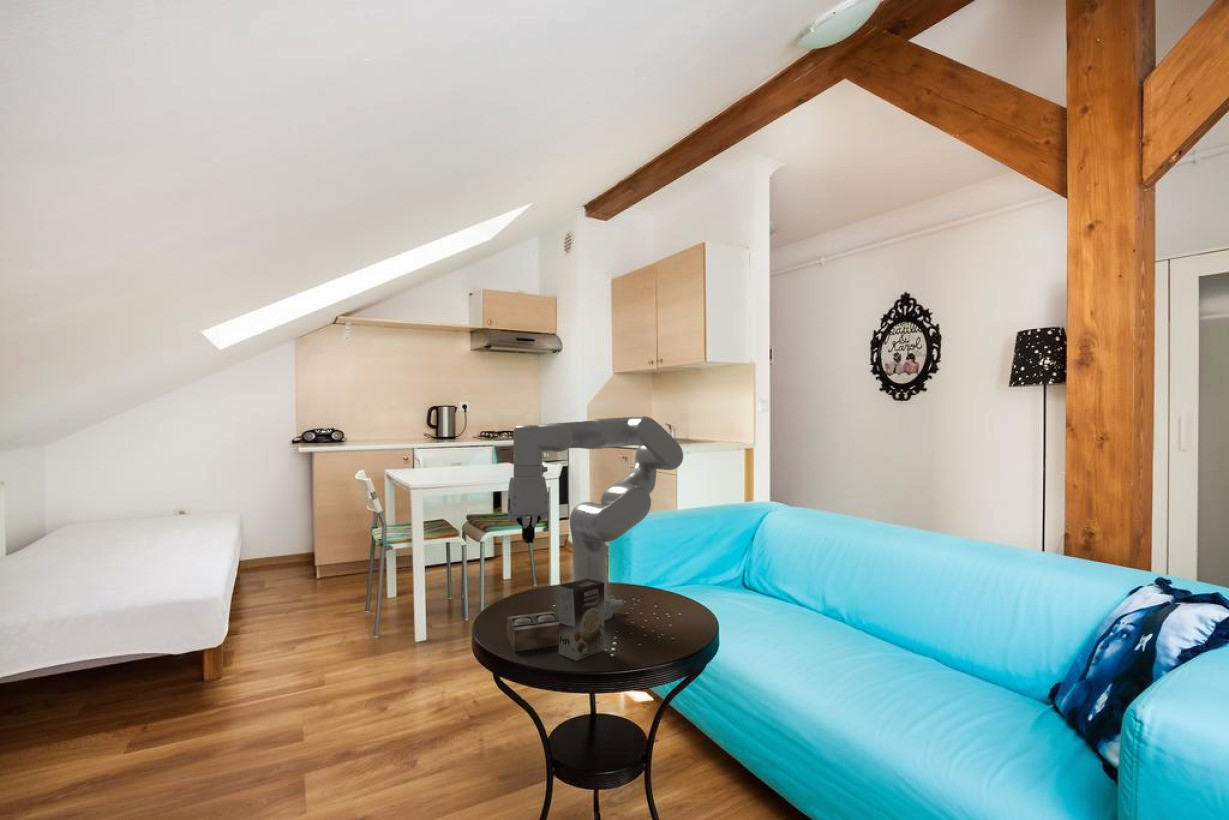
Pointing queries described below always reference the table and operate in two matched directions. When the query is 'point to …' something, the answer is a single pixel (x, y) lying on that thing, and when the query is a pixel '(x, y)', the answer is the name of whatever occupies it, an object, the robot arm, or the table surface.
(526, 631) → the press block
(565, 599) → the cookie box
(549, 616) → the peg inner
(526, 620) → the peg outer
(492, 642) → the table surface
